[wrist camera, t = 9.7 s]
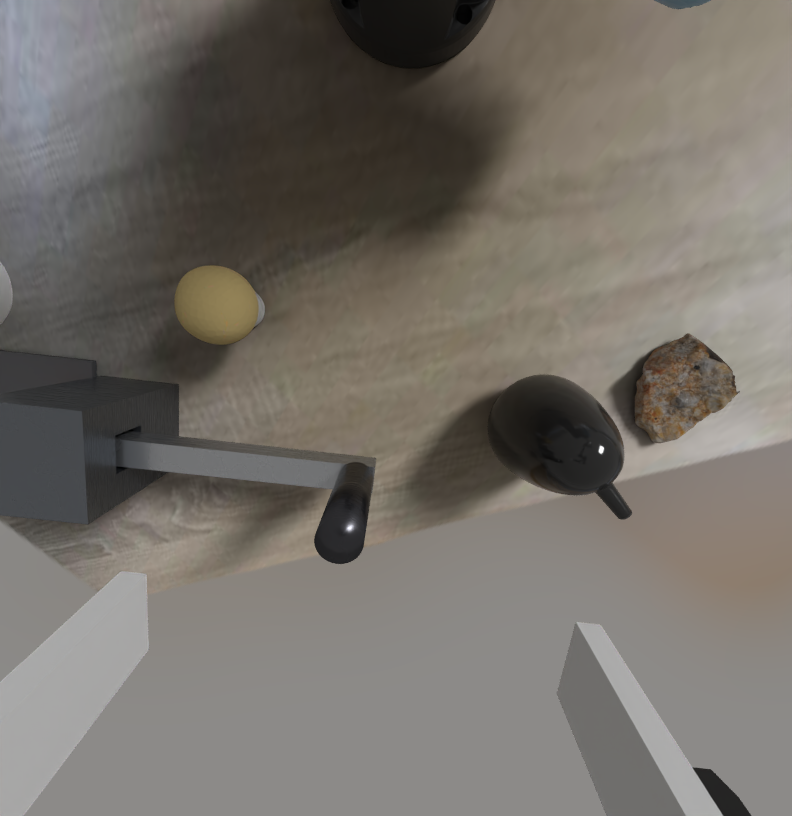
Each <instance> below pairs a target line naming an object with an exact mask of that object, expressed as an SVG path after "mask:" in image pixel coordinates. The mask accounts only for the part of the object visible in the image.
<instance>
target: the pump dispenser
mask: <svg viewBox="0 0 792 816" xmlns="http://www.w3.org/2000/svg"><path fill="white" fill-rule="evenodd" d="M488 438H489V442H490V445H491V448H492V450H493V452H494V453H495V455H496V457H497V458H498V459H499V460H500V462H501V463H502V464H503V465H504V466H505V467H506V468H507V469H509V470H510V471H511V472H513V473H514V474H515V475H517V476H518V477H520V478H522V479H523V480H525V481H527V482H529V483H531V484H533V485H535V486H537V487H540V488H542V489H545V490H548V491H551V492H555V493H559V494H565V495H587V494H591V493H594V492H595V493H596V494H597V495H598V496H599V497H600V498H601V499H602V500H603V502H604V503H605V504H606V505H607V506H608V507H609V508H610V509H611V511H612V512H613V513H614V514H615V515H616V516H617V517H618V518H619V519H627V518H628V517H630V516H631V514H632V511H631V509H630V508H629V506H628V505H627V503H626V502H625V501H624V499H623V498H622V496H621V495H620V493H619V492H618V490H617V489H616V488H615V486H614V484H613V483H612V482H613V481H614V480H615V479H616V478H617V476H618V475H619V473H620V472H621V470H622V467H623V464H624V445H623V441H622V438H621V435H620V432H619V430H618V428H617V426H616V425H615V423H614V421H613V420H612V418H611V417H610V416H609V414H608V413H607V412H606V410H605V409H604V408H603V407H602V405H601V404H600V403H599V402H598V401H597V400H596V399H595V398H594V397H593V396H592V395H591V394H589V393H588V392H587V391H586V390H584V389H583V388H582V387H580V386H579V385H577V384H576V383H574V382H572V381H570V380H568V379H565V378H562V377H559V376H555V375H545V374H543V375H534V376H529V377H526V378H523V379H521V380H519V381H517V382H515V383H514V384H512V385H511V386H509V387H508V388H507V389H506V390H505V391H504V392H503V393H502V394H501V395H500V396H499V397H498V399H497V400H496V402H495V404H494V405H493V407H492V410H491V412H490V416H489V420H488Z"/></svg>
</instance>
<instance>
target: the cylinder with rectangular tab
mask: <svg viewBox="0 0 792 816" xmlns="http://www.w3.org/2000/svg"><path fill="white" fill-rule="evenodd" d="M12 299H13V291H12V286H11V281H10V278H9V276H8V274H7V272H6V269H5V268H4V266H3V265H2V264H1V262H0V324H2V323H3V321H4V320H5V319H6V317H7V316H8V315H9V312H10V309H11V306H12Z"/></svg>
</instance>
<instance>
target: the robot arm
mask: <svg viewBox="0 0 792 816" xmlns="http://www.w3.org/2000/svg"><path fill="white" fill-rule="evenodd" d="M330 1H331V4H332V7H333V9H334V11H335V14H336V16H337V18H338V20H339V22H340V23H341V25H342V27H343V28H344V29H345V31H346V32H347V34H348V35H349V36H350V37H351V39H352V40H353V41H354V42H355V43H356V44H357V45H358V46H359V47H360V48H361V49H363V50H364V51H365V52H366V53H368V54H369V55H371V56H372V57H374V58H376V59H378V60H380V61H382V62H384V63H387V64H390V65H393V66H398V67H404V68H420V67H427V66H431V65H435V64H437V63H440V62H442V61H445V60H447V59H449V58H450V57H452V56H454V55H455V54H457V53H458V52H460V51H461V50H462V49H463V48H464V47H466V46H467V45H468V44H469V43H470V42H471V41H472V40H473V39H474V37H475V36H476V35H477V34H478V32H479V31H480V30H481V28H482V27H483V25H484V23H485V22H486V20H487V18H488V16H489V14H490V12H491V10H492V8H493V5H494V3H495V0H330ZM654 1H657V2H659V3H661V4H663V5H665V6H667V7H670V8H673V9H684V8H691V7H693V6H699V5H702V4H704V3H707V2H709V1H710V0H654ZM148 650H149V640H148V608H147V575H146V574H143V573H134V572H125V571H120V572H119V573H118V574H117V575H116V576H115V577H114V578H113V579H112V580H111V581H110V582H108V583H107V584H106V585H105V586H104V587H103V588H102V589H101V590H100V591H99V592H98V593H97V594H95V595H94V596H93V597H92V598H91V599H90V600H89V601H88V602H87V603H86V604H85V605H83V606H82V607H81V608H80V609H79V610H78V611H77V612H76V613H75V614H74V615H73V616H72V617H70V618H69V619H68V620H67V621H66V622H65V623H64V624H63V625H62V626H61V627H59V628H58V629H57V630H56V631H55V632H54V633H53V634H52V635H51V636H50V637H49V638H47V639H46V640H45V641H44V642H43V643H42V644H41V645H40V646H39V647H38V648H37V649H36V650H34V651H33V652H32V653H31V654H30V655H29V656H28V657H27V658H26V659H25V660H23V661H22V662H21V663H20V664H19V665H18V666H17V667H16V668H15V669H14V670H13V671H11V672H10V673H9V674H8V675H7V676H6V677H5V678H4V679H3V680H2V681H1V682H0V816H24V814H25V813H26V812H27V811H28V809H29V808H30V807H31V805H32V804H33V803H34V801H35V800H36V799H37V797H38V796H39V795H40V793H41V792H42V790H43V789H44V788H45V787H46V785H47V784H48V783H49V781H50V780H51V779H52V777H53V776H54V775H55V773H56V772H57V771H58V769H59V768H60V767H61V765H62V764H63V763H64V761H65V760H66V758H67V757H68V756H69V755H70V753H71V752H72V751H73V749H74V748H75V747H76V745H77V744H78V743H79V741H80V740H81V739H82V737H83V736H84V735H85V733H86V732H87V731H88V729H89V728H90V727H91V725H92V724H93V723H94V722H95V720H96V719H97V717H98V716H99V715H100V714H101V712H102V711H103V710H104V708H105V707H106V706H107V704H108V703H109V702H110V700H111V699H112V698H113V696H114V695H115V694H116V692H117V691H118V690H119V688H120V687H121V686H122V684H123V683H124V682H125V680H126V679H127V678H128V676H129V675H130V674H131V672H132V671H133V670H134V668H135V667H136V666H137V664H138V663H139V662H140V660H141V659H142V658H143V656H144V655H145V654H146V652H147V651H148ZM557 695H558V698H559V700H560V703H561V705H562V708H563V710H564V713H565V715H566V718H567V720H568V722H569V725H570V727H571V730H572V732H573V735H574V737H575V740H576V742H577V744H578V747H579V749H580V752H581V754H582V757H583V759H584V761H585V764H586V766H587V769H588V771H589V774H590V776H591V778H592V781H593V783H594V786H595V788H596V791H597V793H598V795H599V798H600V801H601V803H602V805H603V808H604V810H605V813H606V815H607V816H751V815H750V813H749V812H748V810H747V809H746V807H745V806H744V805H743V803H742V802H741V800H740V799H739V797H738V796H737V795H736V794H735V793H734V792H733V791H732V790H731V789H729V787H728V786H727V785H726V784H725V783H724V782H723V781H722V780H721V779H720V778H719V777H718V776H717V775H716V774H715V773H714V772H713V771H712V770H711V769H702V768H693V767H692V766H691V765H690V763H689V762H688V760H687V759H686V757H685V756H684V754H683V753H682V751H681V749H680V748H679V746H678V745H677V743H676V742H675V740H674V739H673V737H672V735H671V734H670V732H669V731H668V729H667V728H666V726H665V724H664V723H663V721H662V720H661V718H660V717H659V715H658V713H657V712H656V710H655V709H654V707H653V706H652V704H651V703H650V701H649V700H648V698H647V696H646V695H645V693H644V692H643V690H642V689H641V687H640V686H639V684H638V682H637V681H636V679H635V678H634V676H633V675H632V673H631V672H630V670H629V668H628V667H627V665H626V664H625V662H624V660H623V659H622V657H621V656H620V654H619V653H618V651H617V650H616V648H615V646H614V645H613V643H612V642H611V640H610V639H609V637H608V636H607V634H606V632H605V631H604V629H603V628H602V626H601V625H599V624H590V623H581V622H576V624H575V627H574V631H573V635H572V638H571V642H570V646H569V650H568V653H567V657H566V661H565V665H564V668H563V672H562V676H561V680H560V684H559V687H558V691H557Z"/></svg>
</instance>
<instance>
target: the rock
mask: <svg viewBox="0 0 792 816" xmlns="http://www.w3.org/2000/svg"><path fill="white" fill-rule="evenodd" d="M734 380H735V376H734V375H733V372H732V370H731V369H730V367H729V366H728V365H727V364H726V363H725V362H724V361H723V360H722V359H721V358H720V357H719V356H718V355H716V354H715V353H714V352H713V351H712V350H711V349H709V348H708V347H707V346H706V345H705V344H704V343H702V342H701V341H699V340H698V339H697V338H695V337H694V336H692V335H690V334H686V335H685V336H684V337H682V338H680V339H678V340H674V341H672V342H670V343H669V344H666V345H664V346H661V347H659V348H657V349H655V350H654V351H653V352H652V354H651V355H650V356H649V358H648V360H647V361H646V362H645V364H644V366H643V375H642V376H641V378H640V379H639V380H638V381H637V383H636V384H637V393H636V395H635V412H634V413H635V423H636V425H637V426H639V427H640V428H642V429H644V430H645V431H646V432H647V433H648V435H649V436H650V438H651V440H652V442H655V443H663V442H667V441H671V440H676V439H678V438H679V437H681V436H682V435H683V434H685V433H686V432H687V431H688V430H690V429H691V428H693V427H694V426H695V425H696V423H697V422H699V421H702V420H703V419H704V418H705V417H707V416H708V415H709V414H710V413H711V412H712V413H715V412H717V411H719V410H721V409H722V408H724V407H725V406H726V405H727V403H728V402H730V401H731V400H732V398H734V397H735V396H736V395H737V394H738V393H739V392H740V391H738V392H737V391H736V385H735V381H734Z"/></svg>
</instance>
